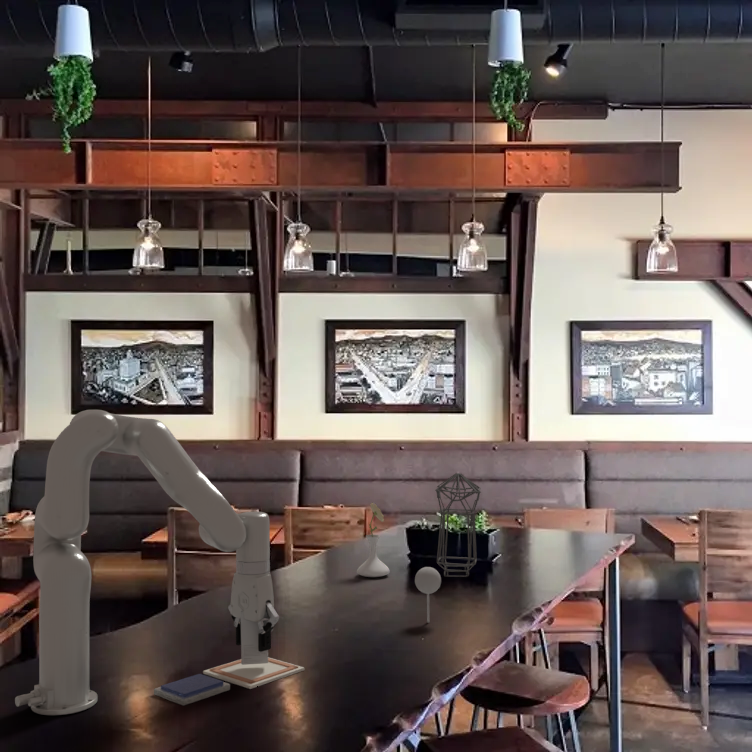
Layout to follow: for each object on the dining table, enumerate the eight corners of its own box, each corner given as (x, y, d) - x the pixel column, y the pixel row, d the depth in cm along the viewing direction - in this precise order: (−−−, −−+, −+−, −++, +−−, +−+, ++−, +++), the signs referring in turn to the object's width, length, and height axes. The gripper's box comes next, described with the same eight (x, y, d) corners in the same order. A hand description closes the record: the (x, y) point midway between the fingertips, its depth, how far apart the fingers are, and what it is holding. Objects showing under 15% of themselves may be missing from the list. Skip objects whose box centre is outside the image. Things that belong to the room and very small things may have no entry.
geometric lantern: (435, 569, 304) (437, 471, 305) (480, 571, 302) (481, 472, 303) (432, 578, 289) (434, 474, 290) (479, 580, 286) (480, 475, 288)
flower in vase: (389, 579, 288) (389, 505, 289) (356, 579, 288) (355, 505, 289) (389, 571, 301) (389, 500, 302) (357, 571, 301) (356, 500, 302)
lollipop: (446, 622, 233) (446, 566, 233) (430, 627, 228) (429, 570, 228) (426, 617, 238) (426, 563, 238) (409, 622, 233) (409, 567, 233)
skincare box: (268, 658, 195) (268, 605, 195) (268, 664, 191) (268, 609, 191) (240, 659, 194) (240, 606, 195) (240, 665, 190) (240, 610, 190)
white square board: (250, 689, 181) (250, 684, 181) (203, 673, 191) (203, 669, 191) (304, 670, 193) (304, 666, 193) (257, 656, 203) (257, 652, 203)
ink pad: (183, 705, 172) (183, 696, 172) (154, 694, 178) (153, 685, 178) (230, 689, 181) (230, 681, 181) (200, 679, 187) (200, 671, 187)
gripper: (215, 565, 196) (215, 643, 195) (266, 575, 184) (266, 658, 184) (240, 560, 201) (240, 636, 201) (291, 569, 190) (292, 650, 189)
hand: (253, 646), depth 192 cm, fingers closed on skincare box, 6 cm apart
